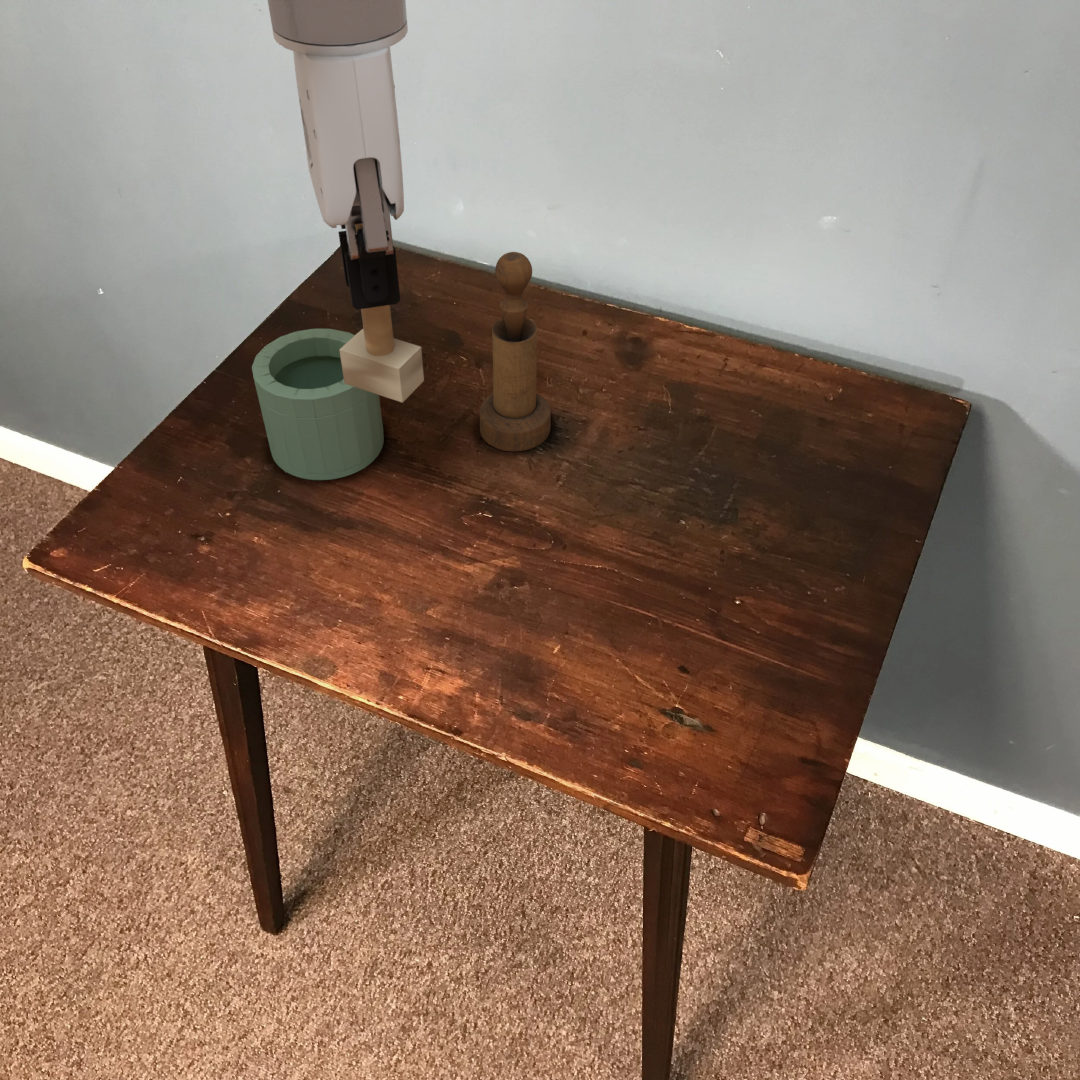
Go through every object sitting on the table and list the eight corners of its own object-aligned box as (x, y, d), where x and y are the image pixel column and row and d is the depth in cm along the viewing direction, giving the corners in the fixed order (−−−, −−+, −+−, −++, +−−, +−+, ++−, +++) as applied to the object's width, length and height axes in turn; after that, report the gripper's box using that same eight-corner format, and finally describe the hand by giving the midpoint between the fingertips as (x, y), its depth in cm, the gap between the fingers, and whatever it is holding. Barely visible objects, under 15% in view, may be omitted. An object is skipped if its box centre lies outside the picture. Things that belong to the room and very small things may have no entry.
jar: (278, 490, 90) (259, 408, 84) (265, 419, 97) (246, 339, 91) (393, 468, 92) (383, 386, 86) (372, 400, 99) (361, 320, 93)
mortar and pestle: (520, 461, 93) (519, 286, 80) (465, 433, 96) (455, 259, 83) (564, 425, 97) (569, 251, 84) (510, 398, 100) (507, 227, 87)
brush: (344, 383, 76) (318, 219, 66) (367, 362, 77) (345, 199, 68) (402, 403, 74) (384, 237, 65) (424, 380, 76) (410, 216, 67)
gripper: (255, -35, 62) (303, 244, 75) (285, 64, 51) (334, 369, 64) (380, -45, 64) (405, 230, 77) (434, 50, 53) (452, 350, 66)
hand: (372, 292), depth 70 cm, fingers closed on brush, 2 cm apart
